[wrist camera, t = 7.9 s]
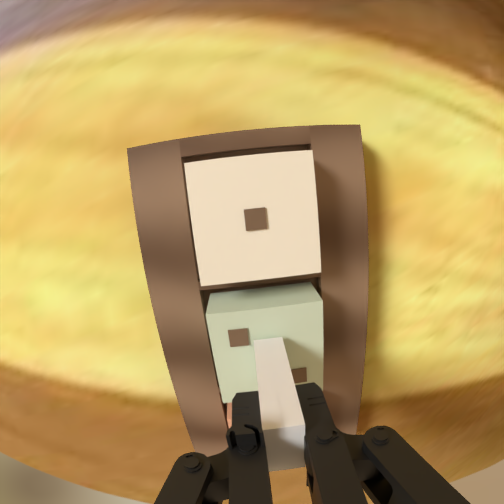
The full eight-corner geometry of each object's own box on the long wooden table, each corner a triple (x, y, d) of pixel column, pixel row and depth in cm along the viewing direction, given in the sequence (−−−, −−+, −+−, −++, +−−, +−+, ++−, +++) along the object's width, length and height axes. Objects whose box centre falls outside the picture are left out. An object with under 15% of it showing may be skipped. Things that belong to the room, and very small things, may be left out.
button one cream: (193, 165, 17) (183, 163, 14) (300, 154, 17) (312, 149, 14) (206, 268, 18) (200, 286, 15) (308, 257, 18) (321, 273, 15)
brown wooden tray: (138, 151, 18) (127, 148, 16) (347, 129, 18) (359, 124, 16) (201, 445, 24) (199, 462, 21) (347, 427, 24) (354, 443, 22)
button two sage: (210, 293, 19) (205, 315, 16) (310, 281, 19) (323, 301, 16) (224, 374, 20) (223, 404, 17) (313, 363, 20) (323, 391, 17)
